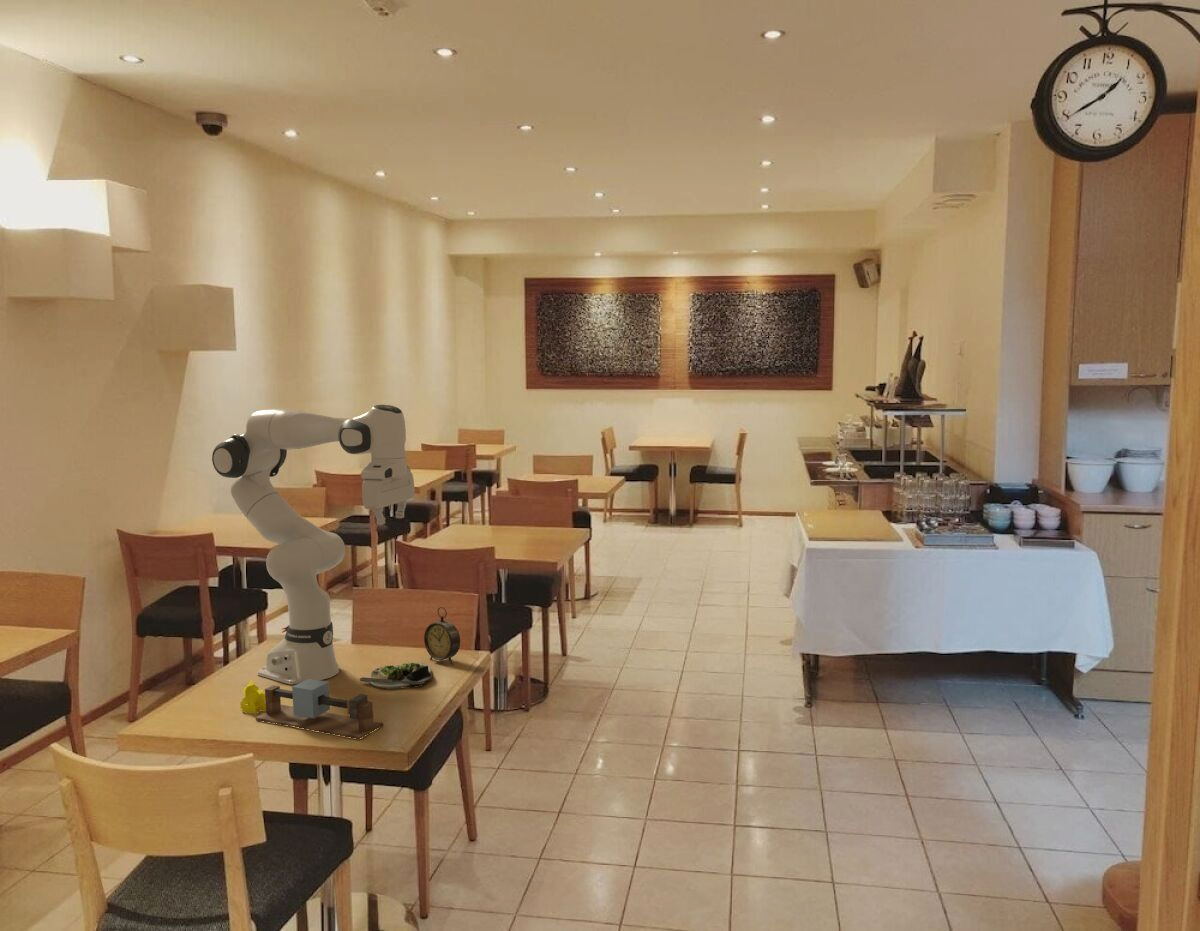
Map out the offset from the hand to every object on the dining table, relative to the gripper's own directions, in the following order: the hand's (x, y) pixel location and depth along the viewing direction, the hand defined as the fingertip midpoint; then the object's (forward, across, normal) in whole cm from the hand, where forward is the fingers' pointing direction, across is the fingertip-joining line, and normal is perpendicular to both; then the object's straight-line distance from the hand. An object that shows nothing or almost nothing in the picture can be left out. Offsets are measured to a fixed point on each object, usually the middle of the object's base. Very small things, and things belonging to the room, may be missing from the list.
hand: (390, 521), depth 243 cm
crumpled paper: (+46, +22, -27) cm, 58 cm away
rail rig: (+46, +25, -6) cm, 52 cm away
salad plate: (+46, -8, -2) cm, 47 cm away
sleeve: (+43, +25, -8) cm, 51 cm away
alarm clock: (+46, -25, +2) cm, 52 cm away
